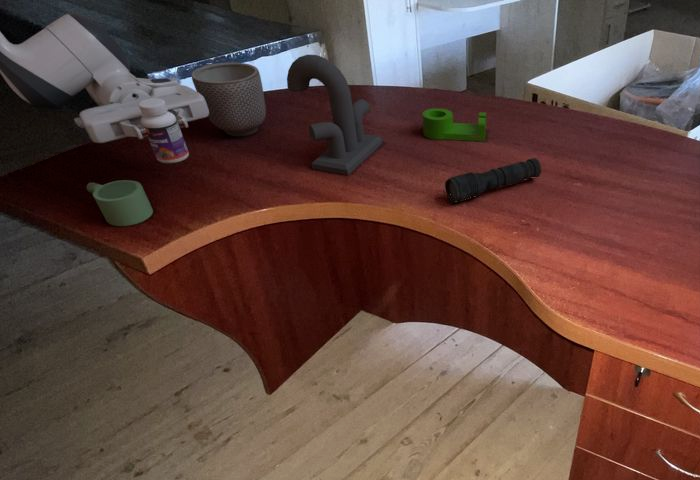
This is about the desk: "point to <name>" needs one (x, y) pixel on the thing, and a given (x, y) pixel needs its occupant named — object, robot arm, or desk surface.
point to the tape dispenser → (451, 126)
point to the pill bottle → (163, 131)
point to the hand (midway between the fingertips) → (163, 128)
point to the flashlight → (490, 179)
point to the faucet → (335, 116)
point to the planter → (232, 96)
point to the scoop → (122, 202)
